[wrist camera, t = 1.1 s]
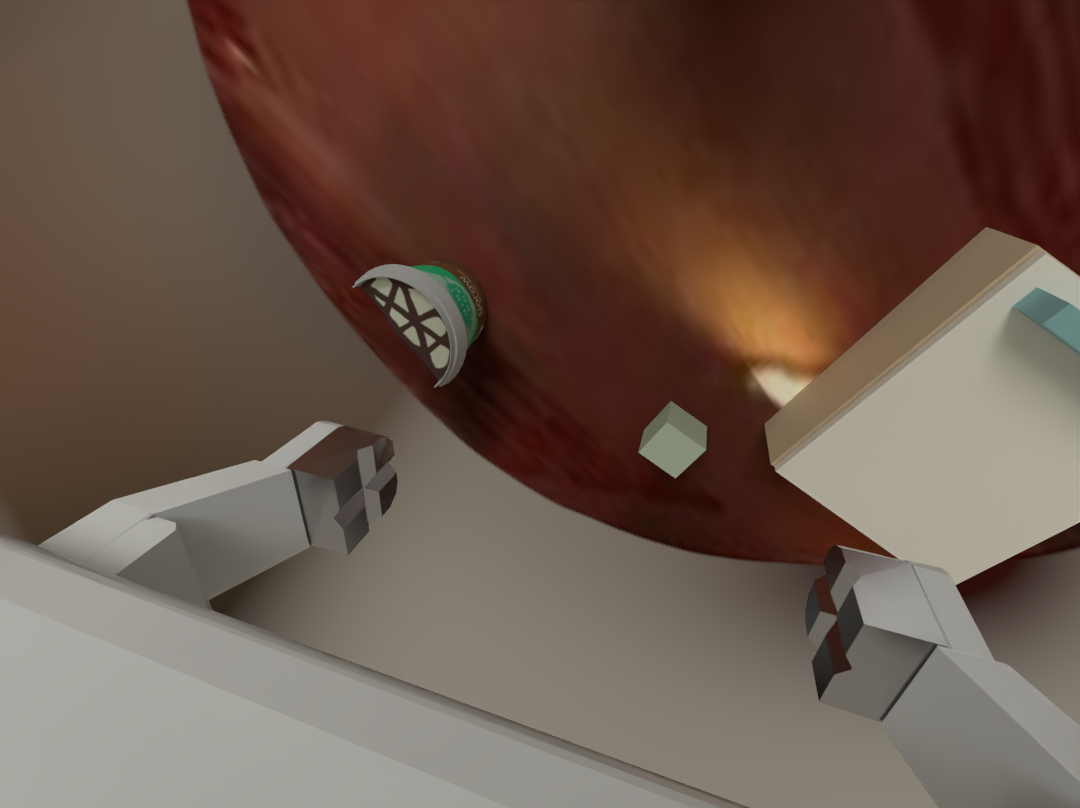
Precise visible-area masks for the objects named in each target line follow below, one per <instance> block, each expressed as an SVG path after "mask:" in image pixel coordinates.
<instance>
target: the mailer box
mask: <svg viewBox="0 0 1080 808" xmlns="http://www.w3.org/2000/svg"><path fill="white" fill-rule="evenodd" d="M1039 251H1041V252H1044V253H1046V254H1048V255H1049V256H1050V257H1052V258H1053V259H1055V258H1054V257H1053V256H1051V255H1050V254H1049V253H1047V252H1046V251H1045V250H1043V249H1042V248H1041V247H1039V246H1038V245H1035V244H1033V243H1030V242H1027V241H1024V240H1021V239H1019V238H1016V237H1013V236H1010V235H1007V234H1005V233H1002V232H999V231H996V230H994V229H991V228H988V227H986V228H984V229H983V230H982V231H981V232H980V233H979V234H978V235H977V236H975V237H974V238H973V239H972V240H971V241H970V242H969V243H968V244H966V245H965V246H964V247H963V248H962V249H961V250H960V251H959V252H957V253H956V254H955V255H954V256H953V257H952V258H951V259H949V260H948V261H947V262H946V263H945V264H944V265H943V266H942V267H940V268H939V269H938V270H937V271H936V272H935V273H934V274H933V275H931V276H930V277H929V278H928V279H927V280H926V281H925V282H924V283H922V284H921V285H920V286H919V287H918V288H917V289H916V290H915V291H913V292H912V293H911V294H910V295H909V296H908V297H907V298H906V299H904V300H903V301H902V302H901V303H900V304H899V305H898V306H897V307H895V308H894V309H893V310H892V311H891V312H890V313H889V314H888V315H886V316H885V317H884V318H883V319H882V320H881V321H880V322H879V323H877V324H876V325H875V326H874V327H873V328H872V329H871V330H869V331H868V332H867V333H866V334H865V335H864V336H863V337H862V338H860V339H859V340H858V341H857V342H856V343H855V344H854V345H853V346H851V347H850V348H849V349H848V350H847V351H846V352H845V353H844V354H842V355H841V356H840V357H839V358H838V359H837V360H836V361H835V362H833V363H832V364H831V365H830V366H829V367H828V368H827V369H826V370H824V371H823V372H822V373H821V374H820V375H819V376H818V377H817V378H815V379H814V380H813V381H812V382H811V383H810V384H809V385H808V386H806V387H805V388H804V389H803V390H802V391H801V392H800V393H798V394H797V395H796V396H795V397H794V398H793V399H792V400H791V401H789V402H788V403H787V404H786V405H785V406H784V407H783V408H782V409H780V410H779V411H778V412H777V413H776V414H775V415H774V416H773V417H771V418H770V419H769V420H768V421H767V422H766V423H765V424H764V425H765V432H766V438H767V444H768V451H769V457H770V463H771V465H773V466H774V467H775V465H776V464H778V463H779V462H780V461H781V460H783V459H784V458H785V457H786V456H787V455H789V454H790V453H791V452H792V451H794V450H795V449H796V448H797V447H799V446H800V445H801V444H802V443H803V442H805V441H806V440H807V439H808V438H810V437H811V436H812V435H813V434H815V433H816V432H817V431H818V430H819V429H821V428H822V427H823V426H824V425H826V424H827V423H828V422H829V421H831V420H832V419H833V418H834V417H835V416H837V415H838V414H839V413H840V412H842V411H843V410H844V409H845V408H847V407H848V406H849V405H850V404H851V403H853V402H854V401H855V400H856V399H858V398H859V397H860V396H861V395H863V394H864V393H865V392H866V391H867V390H869V389H870V388H871V387H872V386H874V385H875V384H876V383H877V382H879V381H880V380H881V379H882V378H883V377H885V376H886V375H887V374H888V373H890V372H891V371H892V370H893V369H895V368H896V367H897V366H898V365H899V364H901V363H902V362H903V361H904V360H906V359H907V358H908V357H909V356H911V355H912V354H913V353H914V352H915V351H917V350H918V349H919V348H920V347H922V346H923V345H924V344H925V343H927V342H928V341H929V340H930V339H931V338H933V337H934V336H935V335H936V334H938V333H939V332H940V331H941V330H943V329H944V328H945V327H946V326H947V325H949V324H950V323H951V322H952V321H954V320H955V319H956V318H957V317H959V316H960V315H961V314H962V313H963V312H965V311H966V310H967V309H968V308H970V307H971V306H972V305H973V304H975V303H976V302H977V301H978V300H979V299H981V298H982V297H983V296H984V295H986V294H987V293H988V292H989V291H991V290H992V289H993V288H994V287H995V286H997V285H998V284H999V283H1000V282H1002V281H1003V280H1004V279H1005V278H1007V277H1008V276H1009V275H1010V274H1011V273H1013V272H1014V271H1015V270H1016V269H1018V268H1019V267H1020V266H1021V265H1023V264H1024V263H1025V262H1026V261H1027V260H1029V259H1030V258H1031V257H1032V256H1034V255H1035V254H1036V253H1037V252H1039ZM1055 260H1056V261H1057V262H1059V263H1060V264H1061V265H1063V266H1064V267H1065V268H1067V269H1068V270H1070V269H1069V268H1068V267H1066V266H1065V265H1064V264H1062V263H1061V262H1060V261H1058V260H1057V259H1055ZM1070 271H1071V272H1072V273H1074V274H1075V275H1076V276H1078V277H1079V278H1080V276H1079V275H1077V274H1076V273H1075V272H1073V271H1072V270H1070Z"/></svg>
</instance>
